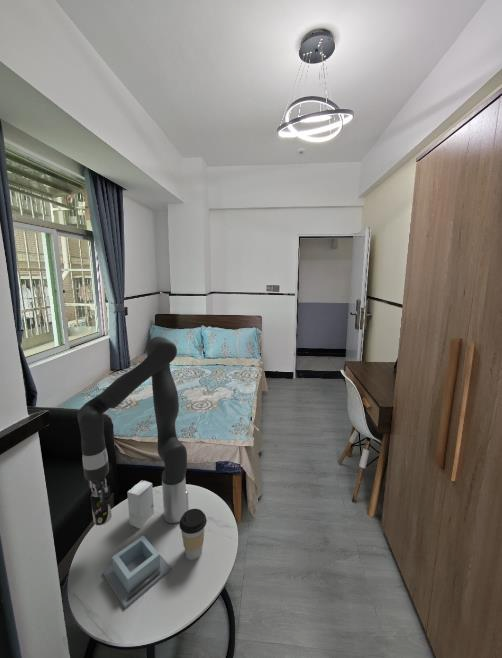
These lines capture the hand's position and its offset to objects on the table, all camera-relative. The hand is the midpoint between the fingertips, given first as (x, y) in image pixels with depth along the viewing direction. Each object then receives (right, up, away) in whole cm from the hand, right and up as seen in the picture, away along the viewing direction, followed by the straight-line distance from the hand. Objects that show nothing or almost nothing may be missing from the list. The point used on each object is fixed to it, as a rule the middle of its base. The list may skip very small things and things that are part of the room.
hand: (100, 504), depth 102 cm
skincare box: (+8, -17, +17) cm, 25 cm away
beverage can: (0, -7, +1) cm, 7 cm away
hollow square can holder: (+14, -20, -4) cm, 25 cm away
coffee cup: (+32, -19, +3) cm, 38 cm away
